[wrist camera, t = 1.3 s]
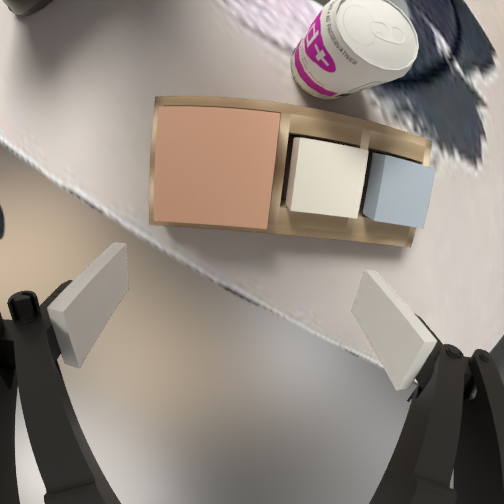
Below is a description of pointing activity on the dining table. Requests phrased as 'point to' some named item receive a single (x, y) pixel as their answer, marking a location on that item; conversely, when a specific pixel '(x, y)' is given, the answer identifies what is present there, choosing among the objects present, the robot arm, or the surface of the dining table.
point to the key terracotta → (214, 165)
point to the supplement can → (354, 48)
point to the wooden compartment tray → (293, 123)
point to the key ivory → (326, 178)
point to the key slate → (398, 191)
